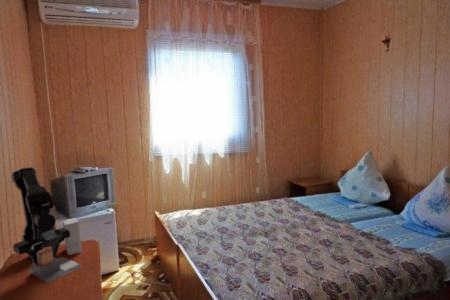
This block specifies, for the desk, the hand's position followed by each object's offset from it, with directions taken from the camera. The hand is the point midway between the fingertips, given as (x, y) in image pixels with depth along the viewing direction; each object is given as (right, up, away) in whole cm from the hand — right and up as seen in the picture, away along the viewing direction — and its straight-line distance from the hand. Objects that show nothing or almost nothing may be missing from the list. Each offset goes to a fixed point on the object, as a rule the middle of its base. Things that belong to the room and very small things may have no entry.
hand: (45, 260), depth 121 cm
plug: (0, -4, +1) cm, 4 cm away
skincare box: (+2, -3, +19) cm, 19 cm away
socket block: (+3, -5, +3) cm, 6 cm away
